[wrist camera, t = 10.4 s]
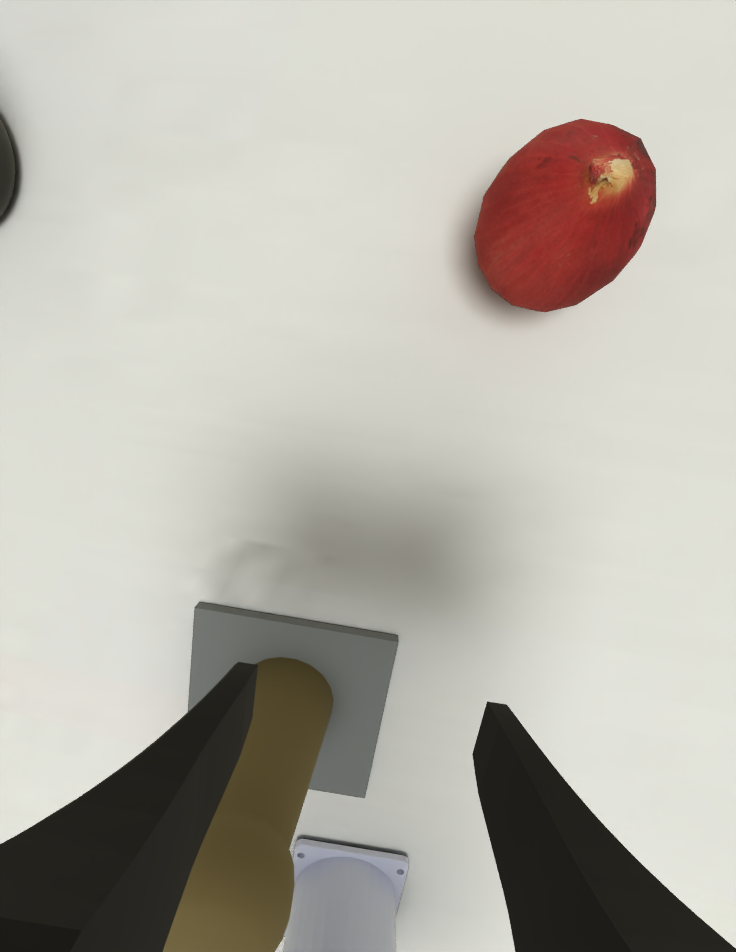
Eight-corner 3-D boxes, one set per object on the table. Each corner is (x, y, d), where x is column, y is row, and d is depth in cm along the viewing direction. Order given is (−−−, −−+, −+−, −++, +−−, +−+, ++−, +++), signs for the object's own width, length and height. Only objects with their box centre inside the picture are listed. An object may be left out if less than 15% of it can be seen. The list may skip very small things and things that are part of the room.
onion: (548, 156, 17) (688, -33, 9) (607, 273, 18) (778, 191, 10) (436, 241, 18) (478, 133, 10) (498, 347, 19) (579, 323, 11)
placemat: (365, 789, 26) (364, 798, 25) (188, 759, 26) (184, 768, 25) (397, 635, 23) (398, 642, 22) (199, 602, 23) (194, 607, 22)
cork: (218, 707, 24) (86, 968, 13) (268, 639, 23) (167, 868, 12) (299, 754, 25) (236, 1040, 14) (352, 690, 23) (328, 951, 13)
